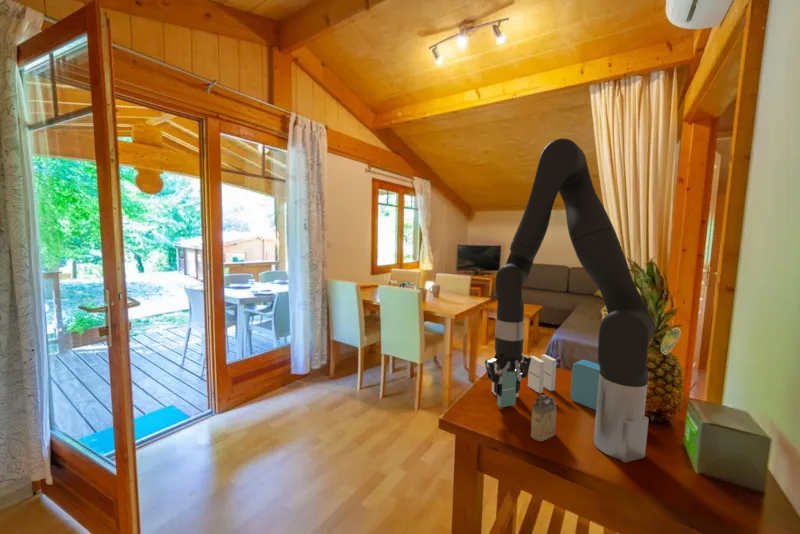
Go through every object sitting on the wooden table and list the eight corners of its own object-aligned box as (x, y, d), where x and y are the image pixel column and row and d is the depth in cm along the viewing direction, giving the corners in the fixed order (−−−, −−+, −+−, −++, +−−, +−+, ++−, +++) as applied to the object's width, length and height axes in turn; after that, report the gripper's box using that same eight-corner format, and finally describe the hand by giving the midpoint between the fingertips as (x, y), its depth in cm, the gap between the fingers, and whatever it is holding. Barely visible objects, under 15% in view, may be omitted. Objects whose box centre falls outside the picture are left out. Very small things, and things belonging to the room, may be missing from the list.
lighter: (546, 427, 87) (548, 390, 86) (559, 435, 84) (562, 397, 83) (527, 435, 84) (529, 397, 82) (540, 444, 80) (542, 404, 79)
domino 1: (496, 391, 106) (497, 360, 105) (505, 398, 101) (507, 366, 100) (491, 391, 105) (492, 361, 104) (501, 399, 101) (502, 367, 99)
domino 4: (543, 383, 111) (545, 354, 110) (554, 390, 107) (556, 360, 106) (539, 384, 111) (541, 354, 110) (550, 391, 106) (552, 360, 105)
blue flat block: (620, 412, 94) (624, 371, 93) (614, 418, 92) (618, 375, 90) (576, 395, 104) (579, 358, 102) (569, 400, 101) (572, 361, 99)
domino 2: (515, 404, 96) (517, 371, 95) (500, 407, 95) (501, 373, 93) (511, 401, 98) (513, 368, 97) (497, 404, 96) (498, 371, 95)
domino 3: (532, 385, 110) (533, 355, 109) (542, 392, 105) (544, 361, 104) (527, 386, 110) (529, 356, 108) (538, 393, 105) (540, 362, 104)
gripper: (494, 342, 88) (492, 404, 90) (539, 336, 93) (536, 395, 94) (479, 333, 95) (477, 391, 97) (522, 329, 100) (519, 384, 102)
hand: (506, 393), depth 96 cm, fingers closed on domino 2, 5 cm apart
